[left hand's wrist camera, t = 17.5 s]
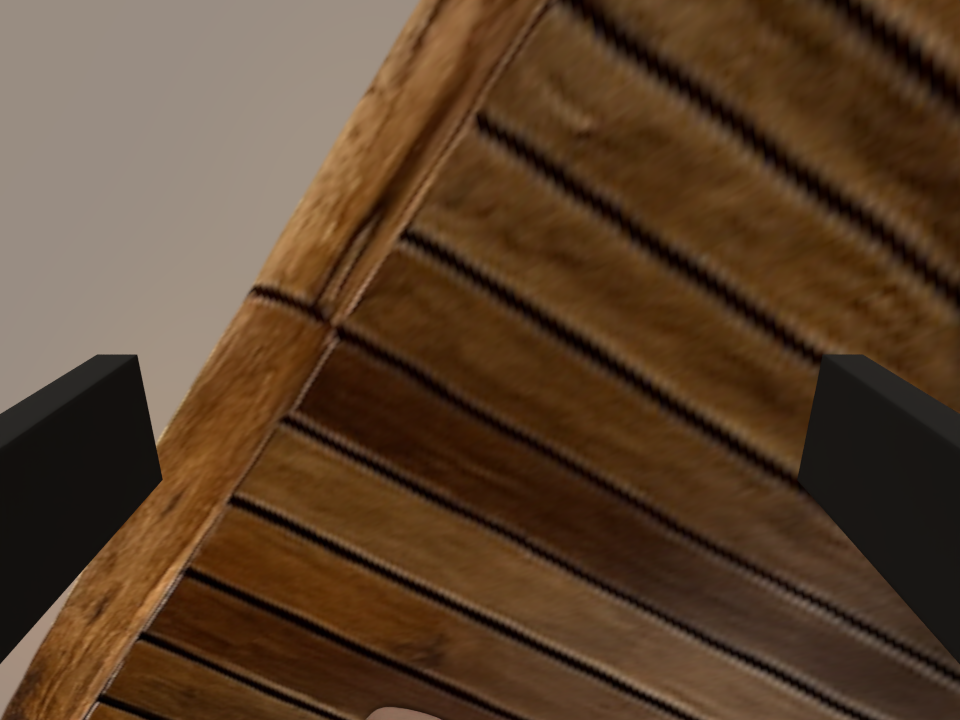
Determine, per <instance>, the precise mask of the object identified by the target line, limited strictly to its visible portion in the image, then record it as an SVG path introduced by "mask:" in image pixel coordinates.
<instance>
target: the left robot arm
mask: <svg viewBox="0 0 960 720" xmlns="http://www.w3.org/2000/svg"><path fill="white" fill-rule="evenodd" d="M162 480H163V479H162V474H161V469H160V464H159V459H158V454H157V450H156V445H155V440H154V435H153V430H152V425H151V420H150V415H149V410H148V405H147V400H146V396H145V391H144V386H143V381H142V376H141V371H140V366H139V361H138V356H137V355H96V356H94V357H93V358H91V359H89V360H88V361H86V362H84V363H83V364H81V365H79V366H78V367H76V368H75V369H73V370H71V371H70V372H68V373H66V374H65V375H63V376H62V377H60V378H58V379H57V380H55V381H53V382H52V383H50V384H48V385H47V386H45V387H44V388H42V389H40V390H39V391H37V392H36V393H34V394H32V395H31V396H29V397H27V398H26V399H24V400H22V401H21V402H19V403H18V404H16V405H14V406H13V407H11V408H9V409H8V410H6V411H5V412H3V413H1V414H0V664H1V662H2V661H3V660H4V659H5V658H6V657H7V656H8V655H9V653H10V652H11V651H12V650H13V649H14V648H15V647H16V646H17V644H18V643H19V642H20V641H21V640H22V639H23V637H24V636H25V635H26V634H27V633H28V632H29V631H30V630H31V628H32V627H33V626H34V625H35V624H36V623H37V622H38V621H39V619H40V618H41V617H42V616H43V615H44V614H45V613H46V611H47V610H48V609H49V608H50V607H51V606H52V605H53V604H54V602H55V601H56V600H57V599H58V598H59V597H60V596H61V594H62V593H63V592H64V591H65V590H66V589H67V588H68V587H69V585H70V584H71V583H72V582H73V581H74V580H75V579H76V577H77V576H78V575H79V574H80V573H81V572H82V571H83V570H84V568H85V567H86V566H87V565H88V564H89V563H90V562H91V560H92V559H93V558H94V557H95V556H96V555H97V554H98V552H99V551H100V550H101V549H102V548H103V547H104V546H105V545H106V543H107V542H108V541H109V540H110V539H111V538H112V537H113V535H114V534H115V533H116V532H117V531H118V530H119V529H120V528H121V526H122V525H123V524H124V523H125V522H126V521H127V520H128V518H129V517H130V516H131V515H132V514H133V513H134V512H135V511H136V509H137V508H138V507H139V506H140V505H141V504H142V503H143V501H144V500H145V499H146V498H147V497H148V496H149V495H150V493H151V492H152V491H153V490H154V489H155V488H156V487H157V486H158V484H159V483H160V482H161V481H162ZM797 480H798V481H799V482H800V483H801V484H802V486H803V487H804V488H805V489H806V490H807V491H808V492H809V493H810V495H811V496H812V497H813V498H814V499H815V500H816V501H817V503H818V504H819V505H820V506H821V507H822V508H823V509H824V511H825V512H826V513H827V514H828V515H829V516H830V517H831V518H832V520H833V521H834V522H835V523H836V524H837V525H838V526H839V528H840V529H841V530H842V531H843V532H844V533H845V534H846V535H847V537H848V538H849V539H850V540H851V541H852V542H853V543H854V545H855V546H856V547H857V548H858V549H859V550H860V551H861V552H862V554H863V555H864V556H865V557H866V558H867V559H868V560H869V562H870V563H871V564H872V565H873V566H874V567H875V568H876V570H877V571H878V572H879V573H880V574H881V575H882V576H883V577H884V579H885V580H886V581H887V582H888V583H889V584H890V585H891V587H892V588H893V589H894V590H895V591H896V592H897V593H898V594H899V596H900V597H901V598H902V599H903V600H904V601H905V602H906V604H907V605H908V606H909V607H910V608H911V609H912V610H913V611H914V613H915V614H916V615H917V616H918V617H919V618H920V619H921V621H922V622H923V623H924V624H925V625H926V626H927V627H928V629H929V630H930V631H931V632H932V633H933V634H934V635H935V636H936V638H937V639H938V640H939V641H940V642H941V643H942V644H943V646H944V647H945V648H946V649H947V650H948V651H949V652H950V653H951V655H952V656H953V657H954V658H955V659H956V660H957V661H958V663H959V664H960V414H959V413H957V412H955V411H954V410H952V409H951V408H949V407H947V406H946V405H944V404H942V403H941V402H939V401H938V400H936V399H934V398H933V397H931V396H929V395H928V394H926V393H925V392H923V391H921V390H920V389H918V388H916V387H915V386H913V385H912V384H910V383H908V382H907V381H905V380H903V379H902V378H900V377H898V376H897V375H895V374H894V373H892V372H890V371H889V370H887V369H885V368H884V367H882V366H881V365H879V364H877V363H876V362H874V361H872V360H871V359H869V358H868V357H866V356H864V355H823V356H822V361H821V366H820V371H819V376H818V381H817V386H816V391H815V395H814V400H813V405H812V410H811V415H810V420H809V425H808V430H807V435H806V440H805V445H804V450H803V454H802V459H801V464H800V469H799V474H798V479H797Z"/></svg>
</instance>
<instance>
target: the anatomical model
mask: <svg viewBox="0 0 960 720" xmlns="http://www.w3.org/2000/svg"><path fill="white" fill-rule="evenodd" d="M366 720H441V719H439V718H437V717H434V716H431V715H428V714H425V713H421V712H418V711H413V710H409V709H403V708H396V707H384V708H380V709H377V710H376V711H374V712H373V713H372V714H371V715H370V716H369V717H368V718H367V719H366Z"/></svg>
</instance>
